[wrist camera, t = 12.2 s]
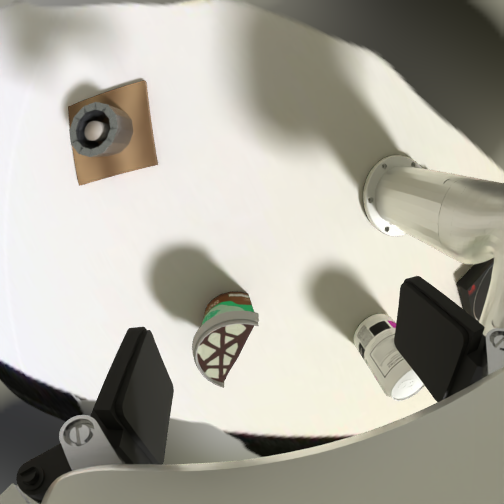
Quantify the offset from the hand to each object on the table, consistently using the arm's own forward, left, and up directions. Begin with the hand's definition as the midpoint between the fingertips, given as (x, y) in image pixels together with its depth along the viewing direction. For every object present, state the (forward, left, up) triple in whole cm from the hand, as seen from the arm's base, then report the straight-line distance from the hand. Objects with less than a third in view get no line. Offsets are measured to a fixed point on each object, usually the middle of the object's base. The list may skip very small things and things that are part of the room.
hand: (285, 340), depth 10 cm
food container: (+6, +16, -31) cm, 35 cm away
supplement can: (-20, +26, -31) cm, 45 cm away
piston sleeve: (+16, -13, -29) cm, 36 cm away
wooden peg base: (+16, -13, -30) cm, 37 cm away
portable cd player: (-52, +24, -31) cm, 65 cm away
